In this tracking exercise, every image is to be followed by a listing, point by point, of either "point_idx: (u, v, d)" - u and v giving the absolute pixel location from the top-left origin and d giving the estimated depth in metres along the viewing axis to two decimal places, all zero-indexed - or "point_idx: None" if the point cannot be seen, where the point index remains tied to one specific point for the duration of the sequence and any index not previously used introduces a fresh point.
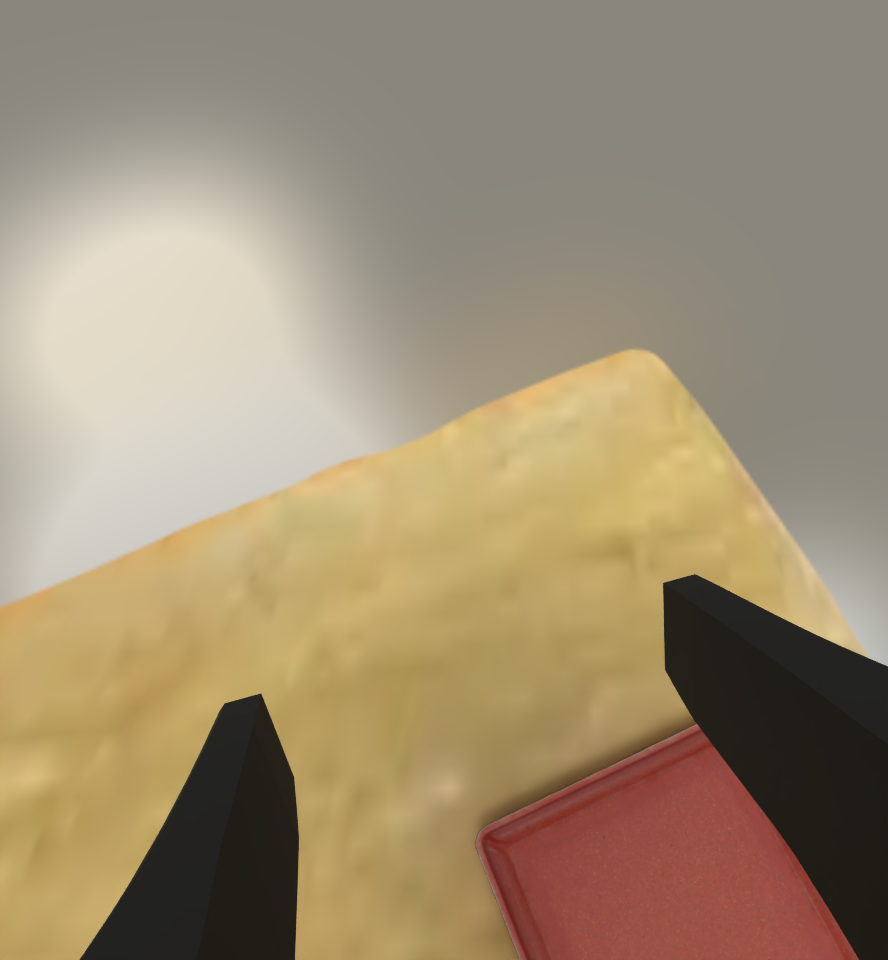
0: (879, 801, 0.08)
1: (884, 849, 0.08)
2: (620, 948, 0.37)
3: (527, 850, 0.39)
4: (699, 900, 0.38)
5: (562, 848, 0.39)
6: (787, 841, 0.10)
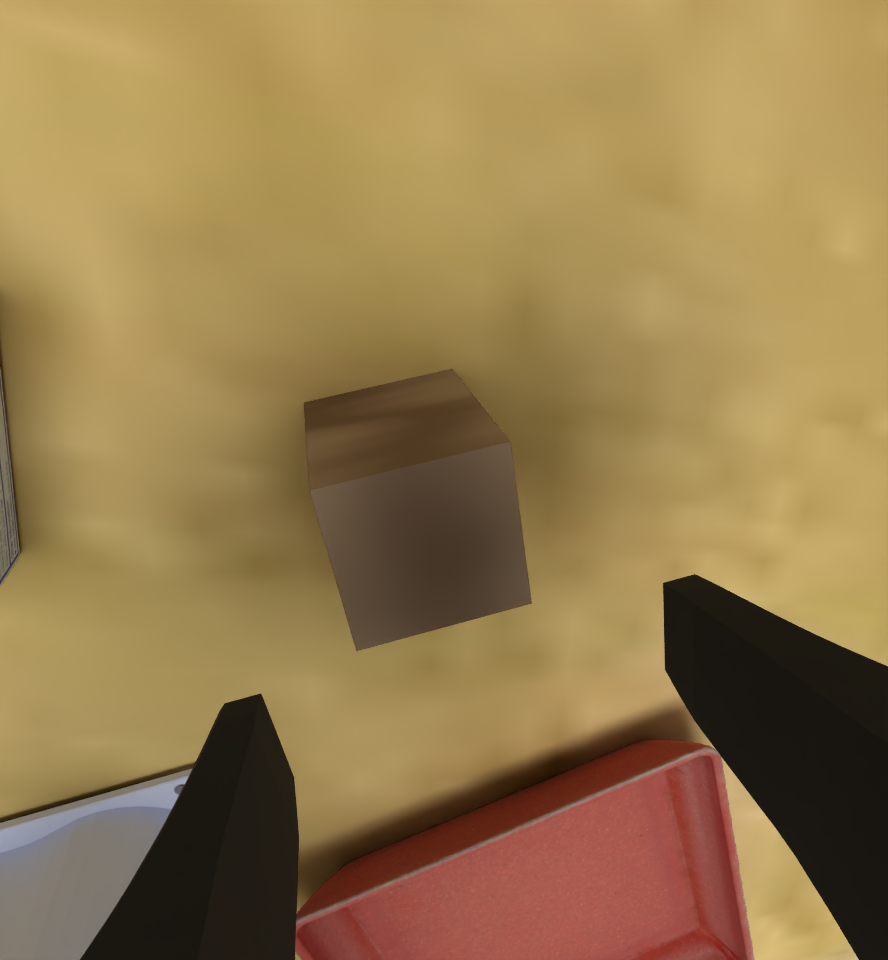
0: (879, 801, 0.08)
1: (884, 849, 0.08)
2: (528, 857, 0.30)
3: None
4: (559, 918, 0.32)
5: (640, 798, 0.30)
6: (787, 841, 0.10)
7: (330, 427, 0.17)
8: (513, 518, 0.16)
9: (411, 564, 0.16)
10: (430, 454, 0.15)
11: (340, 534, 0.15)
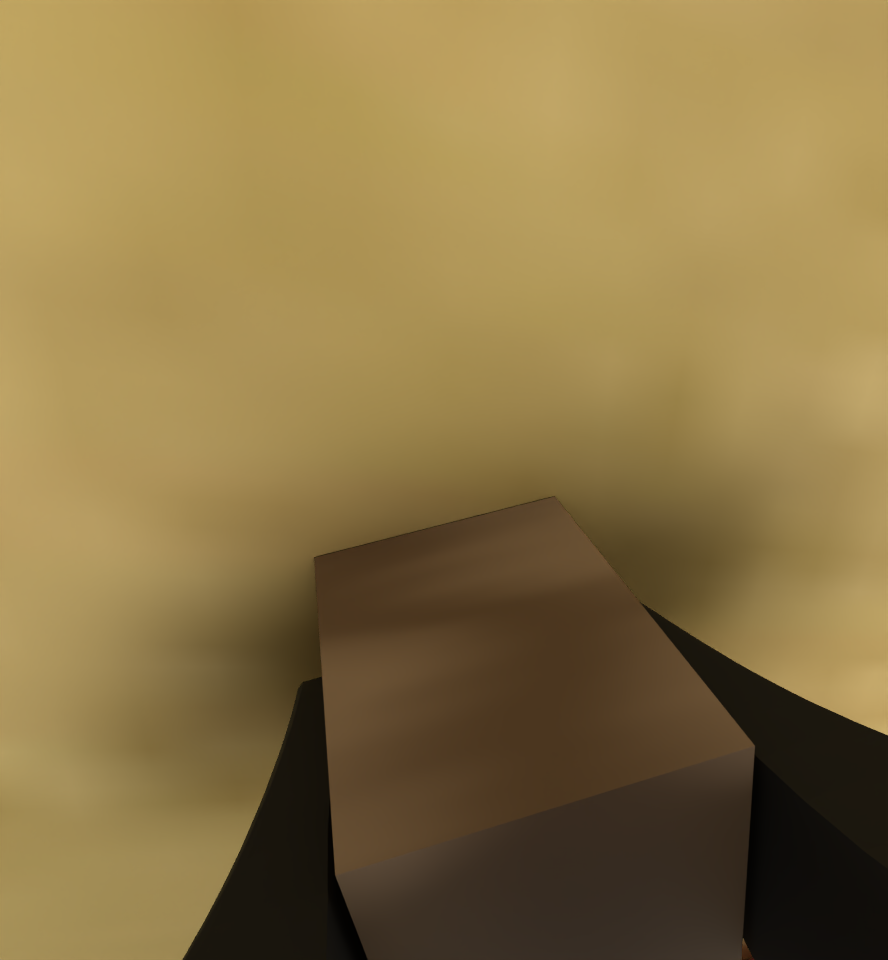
0: (776, 835, 0.07)
1: (783, 883, 0.08)
2: None
3: None
4: None
5: None
6: None
7: (364, 637, 0.10)
8: (734, 864, 0.08)
9: (533, 959, 0.08)
10: (584, 767, 0.07)
11: (396, 935, 0.07)
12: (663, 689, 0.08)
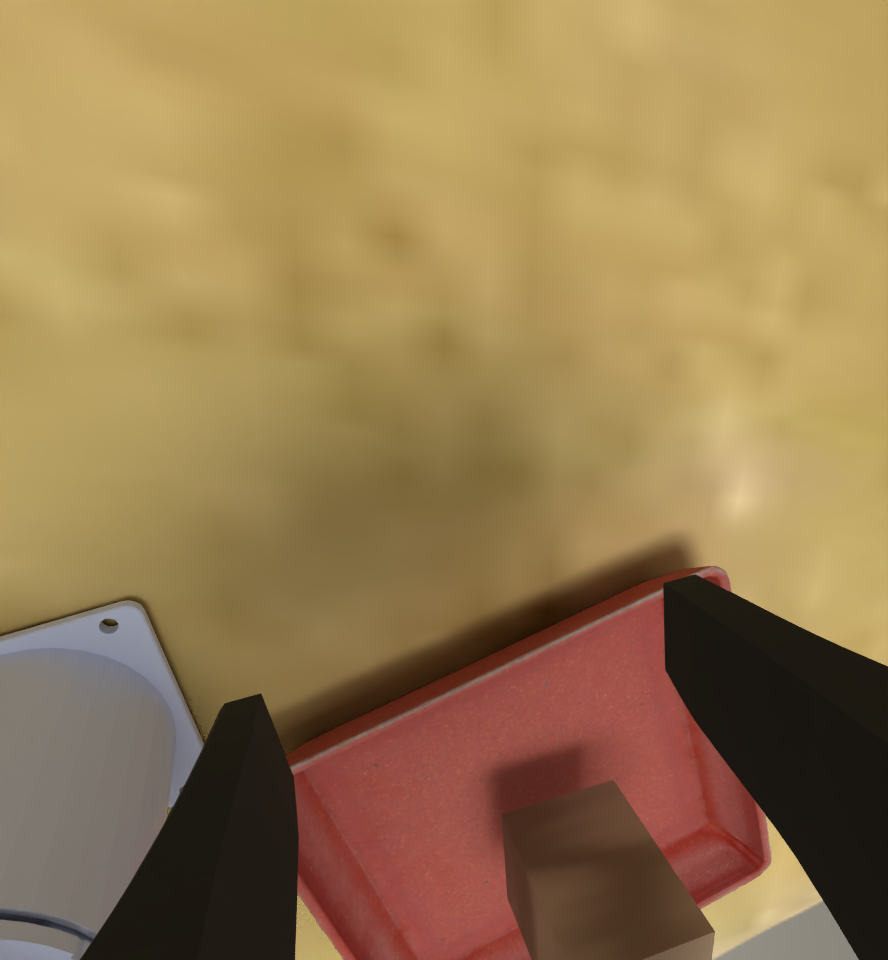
0: (879, 801, 0.08)
1: (884, 849, 0.08)
2: (519, 729, 0.26)
3: (647, 611, 0.26)
4: None
5: (640, 655, 0.27)
6: (787, 841, 0.10)
7: (547, 870, 0.22)
8: None
9: None
10: (656, 940, 0.20)
11: None
12: (680, 904, 0.21)
